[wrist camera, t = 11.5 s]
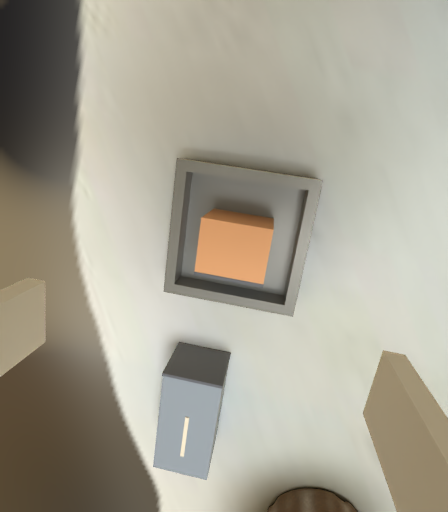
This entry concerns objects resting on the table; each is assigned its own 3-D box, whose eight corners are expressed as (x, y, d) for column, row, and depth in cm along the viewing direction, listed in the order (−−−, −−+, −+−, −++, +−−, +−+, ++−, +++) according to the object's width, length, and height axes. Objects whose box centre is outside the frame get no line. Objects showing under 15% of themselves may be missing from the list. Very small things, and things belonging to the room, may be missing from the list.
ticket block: (179, 342, 39) (162, 373, 33) (230, 352, 39) (222, 386, 33) (169, 425, 43) (152, 467, 37) (216, 436, 42) (206, 481, 36)
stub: (213, 208, 33) (201, 217, 28) (273, 218, 33) (273, 229, 27) (207, 256, 35) (193, 274, 29) (264, 267, 34) (262, 287, 29)
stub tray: (186, 158, 34) (176, 158, 30) (318, 178, 32) (323, 180, 29) (173, 280, 37) (163, 291, 34) (291, 302, 36) (292, 316, 33)
